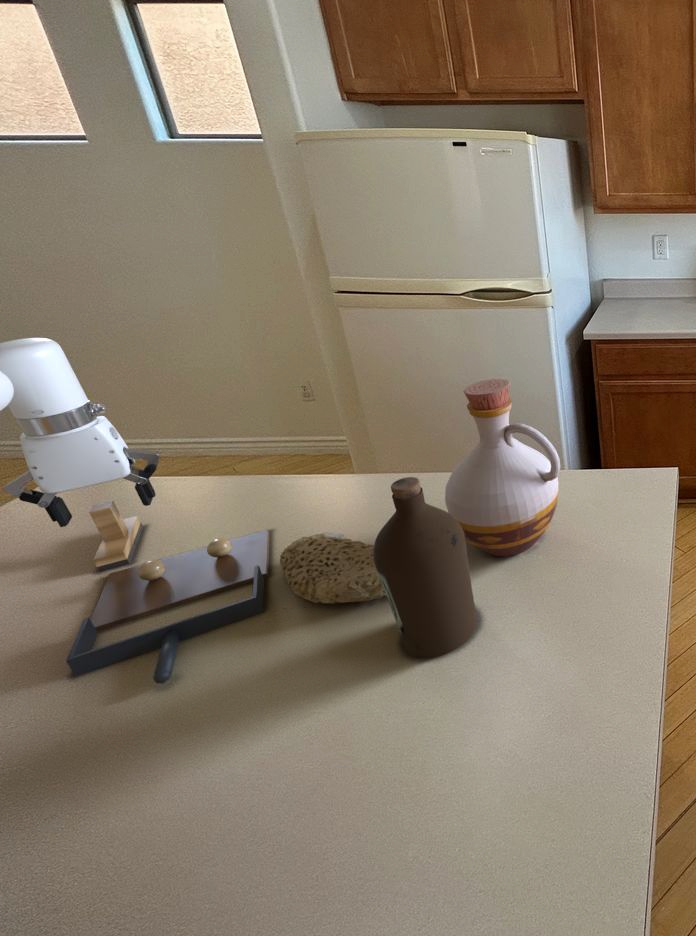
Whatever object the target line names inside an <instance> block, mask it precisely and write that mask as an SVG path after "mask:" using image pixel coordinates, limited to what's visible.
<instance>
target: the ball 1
mask: <svg viewBox="0 0 696 936" xmlns="http://www.w3.org/2000/svg"><path fill="white" fill-rule="evenodd" d="M156 560H157V559H156ZM156 560H155V559H154V560H148V561H146V562H143V563H142V564H140V565H141V566H140V567H139V569H138V576H139V577H140V578H141V579H142V580H146V581H151V580H155V579H157V578H159V577H161V576H162V575H163V573H164V572H165V565H164V564H163V563H162V562H160V561H156Z"/></svg>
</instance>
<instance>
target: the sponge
mask: <svg viewBox="0 0 696 936" xmlns="http://www.w3.org/2000/svg"><path fill="white" fill-rule="evenodd" d="M279 557H280V558H279V564H280V569H281V572H282V575H283V577H284V578H285V579H286V581H287V584H288V585H289V586H290V588H291V590H292V592H293V593H294V594H295V595H296V596H299V597H300V598H302V599H304V600H307V601H310V602H312V603H316V604H318V603H319V602H320V603H321V604H337V603H342V604H343V603H355V602H370V601H372V600H376V599H380V598H382V597H387V596H386V593H385V590H384V588H383V585H382V583H381V580H380V577H379V575H378V572H377V570H376V567H375V563H374V545H372V544H367V543H364V542H362V541H361V540H356V541H355V540H354V541H353V540H352V539H351V538H347V537H345V535H344V534H343V533H339V532H322V533H316V534H312V535H309V536H302V537H300V538H299V539H296V540H294V541H292V542H291V544H289V545H288V546H286V548H284V549H283V551H282V552H281V554H280V556H279Z"/></svg>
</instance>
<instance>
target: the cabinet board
mask: <svg viewBox="0 0 696 936" xmlns="http://www.w3.org/2000/svg"><path fill="white" fill-rule="evenodd" d="M270 534H271V532H270V529H269V528H267V529H264V530H260V531H258V532H257V531H256V532H252V533H250V534H245V535H243V536H238V537H234V538H231V539H227V540H228V541H230V543H231V546H232V547H231V550H230V552H229V553H228V554H226V555H225V556H223V557H212V556H210V555H209V554H208V552H207V547H208V545H206V546H202V547H199V548H196V549H192V550H189V551H185V552H181V553H178V554H174V555H171V556H168V557H164V558H160V559H156V561H160V562H162V563H163V564H164V565H165V572H164V573H163V575H162V576H161V577H159V578H157V579H155V580H151V581H146V580H142V579H141V578H140V577H139V576H138V569H139V567H140V566H141V565H142V564H139V565H135V566H132V567H127V568H124V569H121V570H118V571H114V572H110V573H108V576H107V579H106V581H105V584H104V586H103V588H102V591H101V593H100V596H99V597H98V600H97V602H96V606H95V607H94V610H93V613H92V615H91V617H90V620H91V622H92V624H93V626H94V627H95V629H96V631H97V632H99V631H101V630H105V629H109V628H112V627H114V626H117V625H121V624H123V623H127V622H130V621H133V620H136V619H140V618H143V617H145V616H149V615H152V614H155V613H158V612H161V611H165V610H168V609H171V608H174V607H177V606H180V605H184V604H187V603H190V602H193V601H197V600H200V599H202V598H206V597H208V596H212V595H215V594H217V593H221V592H224V591H227V590H231V589H234V588H237V587H241V586H243V585H246V584H249V583H253V582H254V568H255V566H257V565H259V568H260V570H261V573H262V575H263V578H264V579H265V578H268V577H269V565H270V564H269V559H270Z"/></svg>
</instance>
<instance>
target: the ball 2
mask: <svg viewBox="0 0 696 936" xmlns="http://www.w3.org/2000/svg"><path fill="white" fill-rule="evenodd" d="M228 540H229V539H227V538H216V539H213V540H212V541H210V543H209V544H208V545H207V546H208V547H207V552H208V554H209V555H210V556H212V557H223V556H225V555H226V554H228V553H229V552H230V550H231V547H232V546H231V543H230V541H228Z"/></svg>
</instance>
